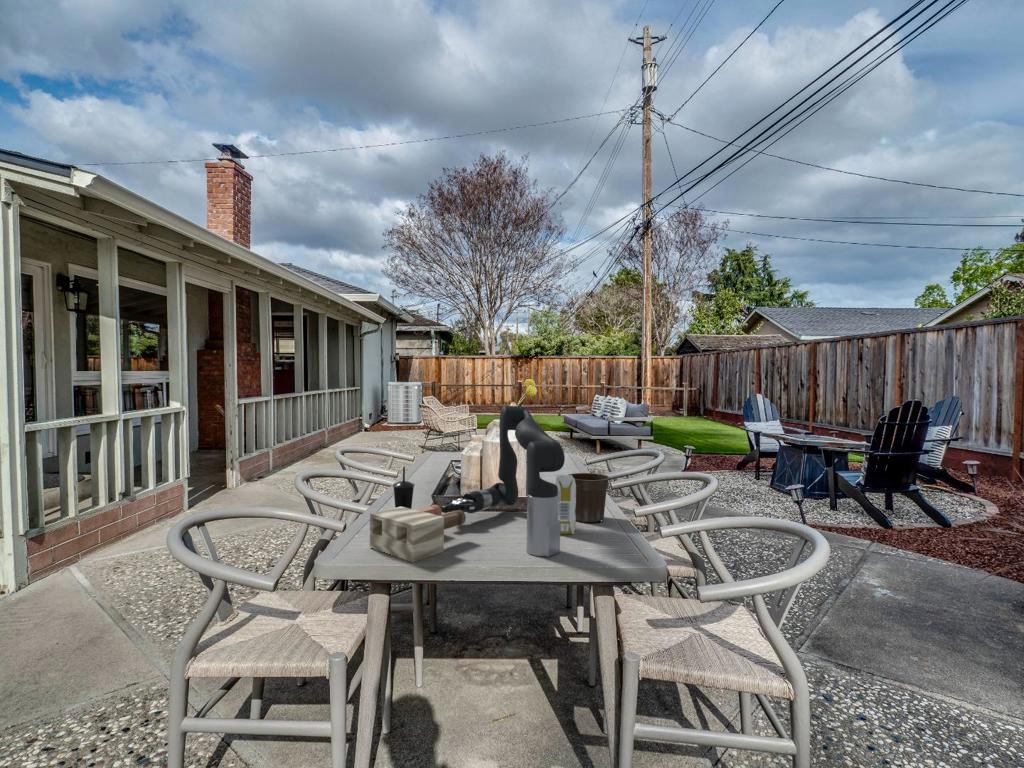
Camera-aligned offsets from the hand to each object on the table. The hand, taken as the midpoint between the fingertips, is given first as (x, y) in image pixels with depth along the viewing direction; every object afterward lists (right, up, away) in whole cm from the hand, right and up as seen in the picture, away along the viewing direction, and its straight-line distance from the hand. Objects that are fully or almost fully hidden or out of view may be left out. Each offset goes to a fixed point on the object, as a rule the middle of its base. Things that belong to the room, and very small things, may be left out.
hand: (443, 509), depth 175 cm
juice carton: (+41, -8, 0) cm, 42 cm away
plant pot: (+52, -8, +17) cm, 55 cm away
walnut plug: (+2, -2, -16) cm, 16 cm away
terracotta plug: (-7, -2, -9) cm, 12 cm away
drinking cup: (-16, -7, +9) cm, 19 cm away
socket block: (-8, -7, -21) cm, 24 cm away
